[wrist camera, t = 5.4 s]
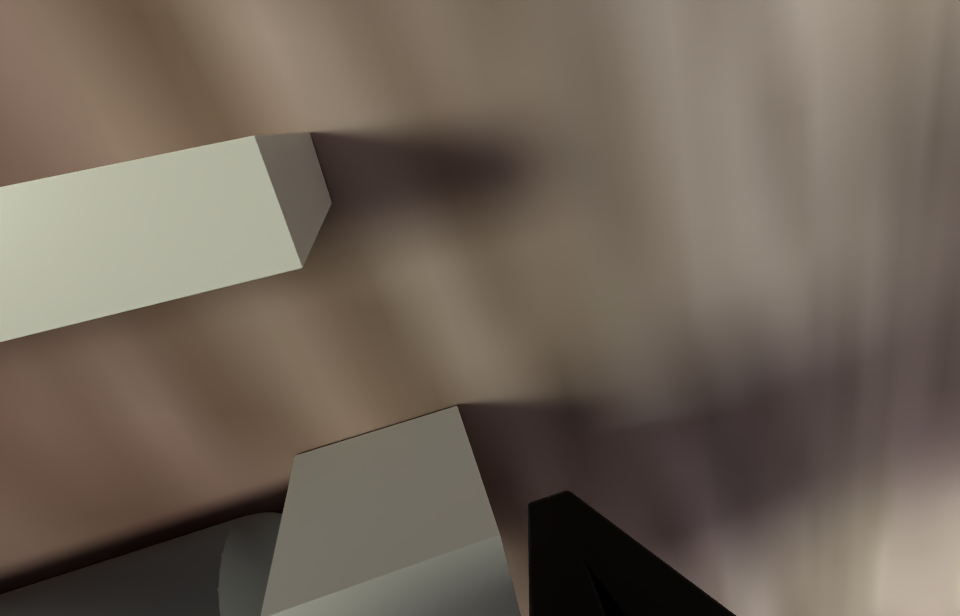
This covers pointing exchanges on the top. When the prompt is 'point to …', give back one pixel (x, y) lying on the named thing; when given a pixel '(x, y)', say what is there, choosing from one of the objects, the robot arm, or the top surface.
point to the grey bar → (322, 544)
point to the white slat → (156, 229)
